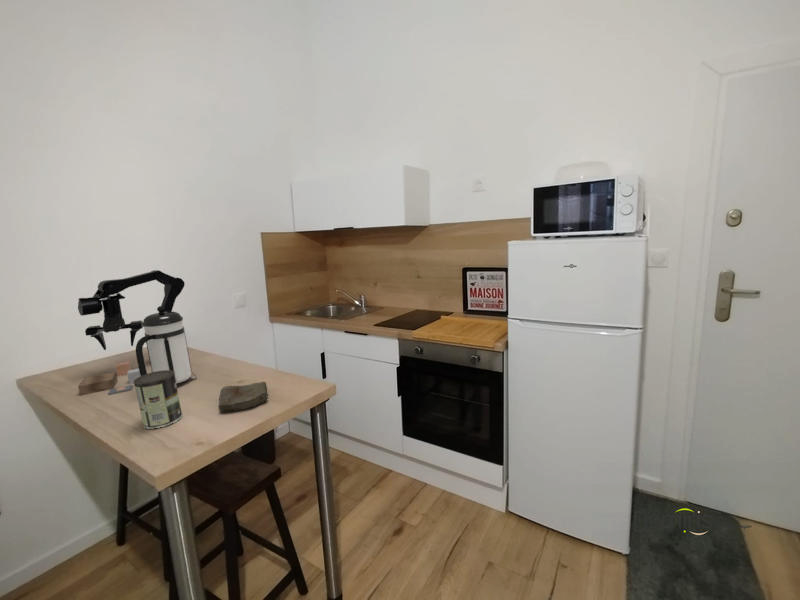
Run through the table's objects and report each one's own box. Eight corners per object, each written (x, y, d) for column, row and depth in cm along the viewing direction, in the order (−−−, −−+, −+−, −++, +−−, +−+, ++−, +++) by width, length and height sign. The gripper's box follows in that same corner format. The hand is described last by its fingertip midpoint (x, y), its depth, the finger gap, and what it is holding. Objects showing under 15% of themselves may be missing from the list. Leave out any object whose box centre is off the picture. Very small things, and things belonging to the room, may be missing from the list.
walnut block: (118, 381, 152) (116, 371, 152) (114, 389, 144) (111, 379, 143) (86, 387, 148) (84, 377, 147) (80, 396, 139) (78, 386, 138)
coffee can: (175, 409, 122) (167, 367, 119) (187, 418, 115) (179, 374, 112) (138, 423, 114) (128, 378, 112) (148, 433, 107) (139, 386, 105)
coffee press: (150, 382, 147) (135, 306, 142) (196, 373, 154) (184, 300, 149) (144, 399, 132) (127, 314, 126) (196, 387, 139) (182, 307, 133)
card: (133, 385, 145) (133, 384, 145) (131, 390, 141) (131, 388, 141) (110, 390, 142) (110, 388, 142) (108, 395, 138) (107, 393, 138)
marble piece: (223, 396, 130) (221, 385, 130) (268, 388, 135) (266, 377, 134) (217, 417, 115) (215, 404, 114) (268, 407, 119) (266, 395, 119)
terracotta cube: (131, 370, 164) (129, 360, 163) (130, 373, 160) (128, 363, 159) (119, 373, 162) (117, 363, 161) (117, 376, 158) (115, 366, 157)
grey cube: (144, 378, 153) (142, 367, 152) (142, 381, 149) (140, 371, 149) (131, 380, 151) (128, 370, 150) (129, 384, 147) (127, 373, 147)
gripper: (77, 317, 145) (85, 356, 147) (136, 310, 153) (142, 348, 156) (86, 312, 155) (92, 350, 157) (140, 307, 163) (146, 342, 165)
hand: (118, 347), depth 159 cm, fingers open, 9 cm apart
